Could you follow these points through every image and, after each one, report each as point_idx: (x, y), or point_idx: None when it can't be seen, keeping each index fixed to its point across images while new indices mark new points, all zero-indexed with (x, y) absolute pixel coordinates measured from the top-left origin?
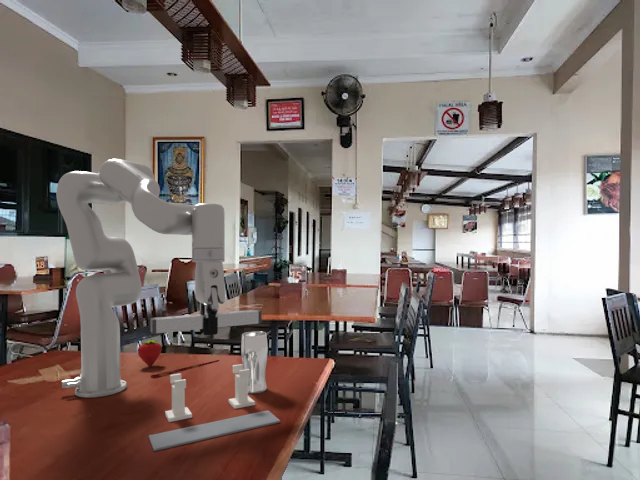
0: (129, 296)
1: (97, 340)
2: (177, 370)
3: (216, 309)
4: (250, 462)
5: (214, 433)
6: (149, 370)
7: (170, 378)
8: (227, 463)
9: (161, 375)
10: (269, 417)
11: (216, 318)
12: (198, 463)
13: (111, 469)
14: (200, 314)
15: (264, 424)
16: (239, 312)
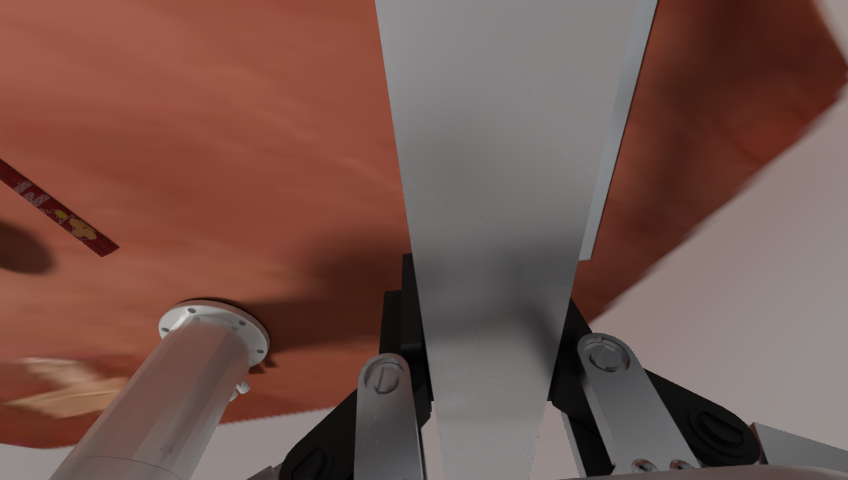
0: None
1: (191, 465)
2: (24, 187)
3: (809, 449)
4: (785, 107)
5: (606, 155)
6: (28, 256)
7: None
8: (742, 152)
9: (92, 231)
10: None
11: (570, 325)
12: (693, 199)
13: (602, 302)
14: (459, 426)
15: (654, 6)
16: (574, 57)
